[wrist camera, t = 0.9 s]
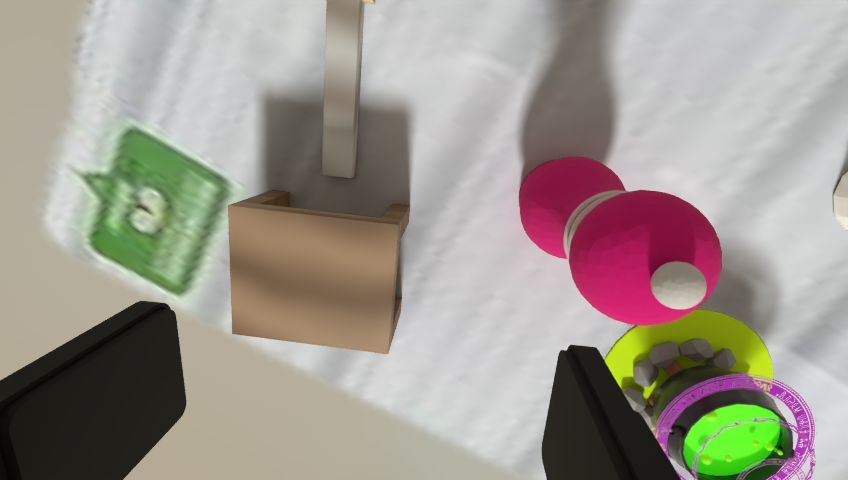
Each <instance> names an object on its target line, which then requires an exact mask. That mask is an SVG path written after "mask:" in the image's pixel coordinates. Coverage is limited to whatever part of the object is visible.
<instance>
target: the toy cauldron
mask: <svg viewBox="0 0 848 480" xmlns="http://www.w3.org/2000/svg"><path fill="white" fill-rule="evenodd" d="M604 361H605V363H606V364H607V366H608V368H609V369H610V371H611V373H612V375H613V376H614V378H615V380H616V381H617V383H618V385H619V386H620V388H621V390H622V391H623V393H624V395H625V397H626V398H627V400H628V402H629V403H630V405H631V407H632V408H633V410H635V411H637V412H639V413H640V414H641V415H642V417H643V418H644V420H645V421H646V423H647V424H648V426H649V428H650V429H651V431H652V433H653V434H654V436H655V438H656V439H657V441H658V443H659V444H660V446H661V447H662V449H663V451H664V452H665V454H666V456H667V457H668V459H669V458H670V459H672V460H674V461H676V462H677V463H678V464H679V465H680V466H682V467H683V468H685V469H686V470H687V471H689V472H690V474H691V475H692V476H693V477H694V478H695V479H696V480H766V479H768V478H769V479H768V480H772V479H774V480H777V477H778V478H780V479H781V480H783V479H784V478H785V477H786V476H788V475H789V474H790V473H791V472H792V471H794V469H795V467H796V466H797V465H798V464H799V462H800V461H801V459H802V457H803V456H802V455H804V454H805V451H806V449H807V446H808V444H809V446H808V450H807V453H806V455H807V454H808V452H809V451H810V452H809V454H812V453H813V452H814V447H813V449H812V446H813V443H812V439H813V442H814V436H815V426H812V425H814V420H813V422H812V420H811V419H813V416H812V413H811V411H810V409H809V407H808V405H807V404H806V402H805V401H804V400H803V398H802V397H801V396H800V395H799V394H798V393H797V392H796V391H794V390H793V389H792V388H790V387H789V386H787V385H785V384H784V385H785V386H787V387H789V388H790V389H792V390H793V391H794V392H795V393H797V394H798V395H799V396H800V397H801V398H802V400H803V401H804V402H805V404H806V405H807V407H808V409H809V411H810V413H811V416H812V418H810V417H811V416H810V414H809V412H808V410H807V408H806V406H805V404H803V403H804V402H802V400H800V399H801V398H800V399H799V397H797V395H795V394H794V392H791V391H792V390H791V391H790V389H787V388H786V387H784V386H783V385H781V384H779V383H776V382H773V381H772V380H774V379H773V370H772V363H771V358H770V356H769V354H768V351H767V349H766V346H765V345H764V344H763V342H762V341H761V340H760V338H759V337H758V336H757V334H756V333H755V332H753V331H752V330H751V329H750V328H749V327H747V326H746V325H745V324H744V323H742V322H740V321H738V320H736V319H734V318H732V317H730V316H728V315H725V314H721V313H718V312H714V311H708V310H697V309H695V310H694V311H693V312H691V313H689V314H688V315H686V316H684V317H682V318H680V319H677V320H675V321H672V322H669V323H664V324H659V325H648V326H639V325H637V326H636V327H634V328H633V329H631V330H629V331H628V332H627V333H626V334H625V335H624V336H623V337H621V338H620V339H619V340H618V341H617V342H616V343H615V345H614V346H613V347H612V349H611V350H610V351H609V353H608V354H607V356H606V358H605V360H604ZM775 381H777V380H775ZM772 382H773V383H776V384H778V385H780V386H782V387H784V388H786V389H787V390H789V391H790V392H791V393H792V394H794V395H795V396H796V397H797V398H798V399H799V400H800V402H801V403H802V404H803V406H804V407H805V409H806V411H807V413H808V416H809V419H810V424H811V440H809V435H810V428H809V422H808V418H807V415H806V413H805V411H804V409H803V407H802V406H801V404H800V403H799V402H798V400H797V399H796V398H795V397H794V396H792V395H791V394H790V393H789V392H787V391H786V390H784V389H782V388H781V387H779V386H777V385H774V384H772ZM777 382H779V381H777ZM780 383H781V382H780ZM782 384H783V383H782ZM784 391H785V392H786V394H784V393H785V392H784ZM783 392H784V393H783ZM782 393H783V394H784V395H785V396H784V395H783V394H782ZM769 394H771V395H773V396H775V397H777V398H778V399H780V398H782V397H783V396H784V397H783V398H782V399H783V400H785V399H786V398H787V399H786V400H785V401H786V402H785V401H783V400H782V399H780V400H781V401H782V402H784V403H785V404H786V405H787V406H788V408H789V409H790V410H791V412H792V413H793V415H794V417H795V419H796V422H797V426H798V430H797V427H795V426H794V425H792V424H790V423H788V422H787V421H786V419H785V418H784V416H783V415H782V414H781V412H780V411H779V409H778V407H777V406H776V404H775V402H774V400H773V399H772V398H771V397H770V396H769ZM776 394H779V395H778V396H779V397H780V396H781V397H780V398H779V397H778V396H776ZM781 394H782V395H783V396H782V395H781ZM773 396H772V397H773ZM789 396H791V397H792V398H791V397H789ZM775 397H774V398H775ZM788 397H789V398H790V399H789V398H788ZM788 399H789V400H788ZM794 399H795V402H794ZM787 400H788V401H787ZM789 401H791V402H792V403H793V402H794V403H793V404H792V403H791V402H789ZM787 402H788V403H787ZM789 403H790V404H789ZM795 403H798V405H797V404H795ZM788 404H789V405H788ZM794 404H795V405H796V406H795V405H794ZM792 405H793V406H795V407H793V409H792V407H791V406H792ZM800 406H801V407H800ZM798 407H800V408H798ZM810 407H811V406H810ZM796 408H798V409H797V410H800V409H802V410H800V411H798V412H797V411H795V410H796ZM794 409H795V410H794ZM794 411H795V412H796V413H795V412H794ZM801 415H803V416H801ZM799 416H800V417H799ZM805 416H806V417H805ZM798 417H799V418H800V419H799V420H797V418H798ZM801 417H803V418H801ZM804 418H806V419H804ZM801 419H803V421H806V422H807V423H805V422H804V423H803V422H800V421H802V420H801ZM815 420H816V419H815ZM799 422H800V423H803V425H802V424H799ZM812 423H813V424H812ZM788 424H790V425H788ZM804 425H806V426H804ZM789 426H791V427H794V428H795V429H796V430H797V431H795V430H793V429H791V428H790V427H789ZM803 427H805V428H803ZM812 427H814V436H812V435H813V434H812V433H813V428H812ZM801 428H802V429H801ZM791 430H793V431H795V432H796V433H798V441H797V445H796V448H795V451H794V450H793V449H792V448H793V436H792V431H791ZM805 430H806V432H807V433H800V432H799V431H805ZM808 431H809V432H808ZM816 436H817V435H816ZM812 437H813V438H812ZM800 439H803V441H804V442H802V443H803V446H802V443H799V442H800ZM804 439H805V440H804ZM806 439H807V440H808V441H806ZM801 441H802V440H801ZM811 443H812V445H811ZM799 444H801V445H799ZM798 446H802V448H801V447H798ZM805 446H806V447H805ZM810 446H811V447H810ZM814 446H815V445H814ZM810 448H811V449H812V450H811V449H810ZM812 451H813V452H812ZM796 452H797V453H796ZM811 452H812V453H811ZM798 453H800V454H798ZM795 454H796V455H795ZM809 454H808V456H809ZM814 454H815V452H814V453H813V454H812V455H810V458H812V457H811V456H813V455H814ZM798 455H799V457H798ZM806 455H805V457H806ZM801 456H802V457H801ZM808 456H807V458H808ZM805 457H804V459H805ZM814 457H815V456H814ZM797 458H799V459H800V461H799V459H797ZM807 458H806V460H807ZM815 458H816V457H815ZM670 459H669V461H670ZM795 459H796V460H795ZM804 459H803V460H802V462H803V461H804V463H805V461H806V460H804ZM808 460H809V459H808ZM812 460H813V458H812V459H811V461H812ZM796 461H797V462H796ZM813 461H814V460H813ZM813 461H812V462H813ZM792 462H796V463H792ZM802 462H801V463H800V465H801V464H802ZM812 462H810V465H811V468H810V471H811V476H812V474H813V471H814V470H813V471H812V467H813V466H815V464H814V463H812ZM814 462H816V461H814ZM791 463H792V464H794V465H795V466H794V465H790V464H791ZM804 463H803V464H804ZM785 464H786V465H785ZM803 464H802V466H803ZM787 465H788V466H789V467H788V466H787ZM800 465H799V466H800ZM672 466H673V465H672ZM782 466H784V467H783V468H782V469H781V470H780V468H781V467H782ZM799 466H797V468H796V470H795V471H794V472H795V474H797V472H800V471H799V469H800V468H801V467H802V466H801V467H800V468H799ZM785 467H788V468H790V467H792V468H793V469H792V468H790V469H788V468H785ZM784 468H785V469H784ZM798 468H799V469H798ZM814 468H815V467H814ZM783 469H784V470H783ZM786 469H787V472H786V473H788V472H790V473H789V474H788V475H787V474H786V473H784V472H785V470H786ZM791 469H792V470H791ZM797 469H798V471H797ZM779 470H780V471H779ZM782 470H783V471H784V472H783V471H782ZM800 470H801V469H800ZM778 471H779V472H778ZM796 471H797V472H796ZM801 471H802V470H801ZM810 471H809V472H808V474H807V476H806V477H805V480H806V479H807V477H808V475H809V473H810ZM676 472H677V471H676ZM777 472H778V473H777ZM794 472H793V473H792V474H794ZM802 472H803V471H802ZM677 474H678V475H679V477H680V478H682V479H683V480H686V479H684V478H683V477H682V476H681V475H680V474H679V473H678V472H677ZM774 474H775V475H774ZM792 474H791V475H792ZM795 474H794V475H795ZM800 474H802V473H801V472H800ZM800 474H799V475H800ZM803 474H804V472H803ZM773 475H774V476H773ZM776 475H777V477H776ZM791 475H790V476H791ZM794 475H793V476H794ZM771 476H772V477H771ZM790 476H788V477H787V478H786V479H788V478H789V477H790ZM793 476H792V477H793ZM797 476H798V474H797ZM804 476H805V474H804ZM811 476H810V477H809V478H808V479H809V480H810V478H811ZM770 477H771V478H770ZM775 477H776V478H775ZM798 478H799V476H798ZM695 479H694V480H695ZM780 479H779V480H780ZM786 479H785V480H786ZM789 479H790V478H789ZM789 479H788V480H789ZM801 479H802V480H803V475H802V478H801ZM808 479H807V480H808ZM799 480H800V479H799Z"/></svg>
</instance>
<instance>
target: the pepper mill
mask: <svg viewBox="0 0 848 480" xmlns="http://www.w3.org/2000/svg"><path fill="white" fill-rule="evenodd" d="M519 206H520V216H521V222H522V225H523V227H524V230H525V231H526V233H527V235H528V236H529V238H530V239H531V240H532V241H533V242H534V243H535V244H536V245H537V246H538V247H539V248H540V249H542V250H543V251H545V252H546V253H548V254H550V255H553V256H556V257H559V258H564V259H568V260H569V264H570V269H571V273H572V278H573V280H574V282H575V284H576V286H577V288H578V290H579V291H580V293H581V294H582V295H583V297H584V298H585V299H586V300H587V301H588V302H589V303H590V304H591V305H592V306H593V307H594V308H596V309H597V310H598V311H600V312H601V313H603V314H605V315H607V316H608V317H610V318H612V319H614V320H617V321H621V322H624V323H627V324H632V325H639V326H648V325H659V324H664V323H669V322H672V321H675V320H677V319H680V318H682V317H684V316H686V315H688V314H689V313H691V312H693V311H694V310H695V309H696V308H698V307H699V306H700V305H701V304H702V303H703V302H704V301H705V300H706V299H707V298H708V297H709V296H710V294H711V293H712V291H713V289H714V287H715V286H716V283H717V281H718V279H719V275H720V271H721V268H722V251H721V247H720V242H719V239H718V237H717V234H716V232H715V230H714V228H713V226H712V225H711V224H710V222H709V221H708V219H707V218H706V217H705V216H704V215H703V214H702V213H701V212H700V211H699V210H698V209H696V208H695V207H694V206H693V205H691V204H690V203H688V202H686V201H684V200H682V199H680V198H678V197H676V196H673V195H670V194H667V193H663V192H658V191H647V190H637V191H632V192H628V191H626V190H625V188H624V186H623V184H622V182H621V180H620V179H619V177H618V176H617V175H616V174H615V173H614V172H613V171H612V170H611V169H609V168H608V167H606V166H605V165H603V164H601V163H599V162H597V161H595V160H592V159H589V158H584V157H567V158H562V159H559V160H552V161H548V162H546V163H543V164H542V165H540V166H538V167H537V168H535V169H534V170H533V171H532V172H531V173H530V174H529V175H528V176H527V178H526V179H525V181H524V183H523V185H522V187H521V190H520V195H519Z"/></svg>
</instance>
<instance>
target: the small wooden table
mask: <svg viewBox="0 0 848 480" xmlns="http://www.w3.org/2000/svg"><path fill="white" fill-rule="evenodd" d="M409 212H410V206H408V205H399V204H392V205H391V206H390V207H389V209H388V210H387V211H386V212H385V213H384V215H383V216H382V217H381V218H378V217H370V216H361V215H352V214H343V213H334V212H326V211H317V210H308V209H299V208H291V207H289V192H283V191H274V190H271V191H268V192H265V193H263V194H260V195H257V196H254V197H251V198H248V199H245V200H242V201H240V202H237V203H234V204H231V205H228V217H229V246H230V276H231V305H232V334H237V335H245V336H252V337H260V338H268V339H275V340H283V341H291V342H299V343H306V344H314V345H322V346H329V347H337V348H345V349H352V350H360V351H368V352H375V353H383V354H388V352H389V349H390V346H391V342H392V339H393V336H394V332H395V329H396V326H397V323H398V319H399V316H400V312H401V301H402V298H397V297H395V291H396V279H397V267H398V255H399V243H400V239H401V237H402V235H403V233H404V231H405V229H406V227H407V225H408V223H409Z"/></svg>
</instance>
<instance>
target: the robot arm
mask: <svg viewBox="0 0 848 480" xmlns="http://www.w3.org/2000/svg"><path fill="white" fill-rule="evenodd" d="M185 408H186V395H185V386H184V378H183V370H182V362H181V354H180V345H179V337H178V329H177V321H176V315H175V312H174V311H173V310H171V309H170V307H169V306H168V305H167V304H166V303H158V302H148V301H139V302H137V303H135V304H133V305H131V306H130V307H128V308H126V309H124V310H123V311H121V312H119V313H118V314H116V315H114V316H112V317H110V318H109V319H107V320H105V321H103V322H102V323H100V324H98V325H96V326H95V327H93V328H92V329H89V330H88V331H86V332H84V333H82V334H81V335H79V336H77V337H76V338H74V339H72V340H70V341H69V342H67V343H65V344H63V345H62V346H60V347H58V348H56V349H55V350H53V351H51V352H49V353H48V354H46V355H44V356H42V357H41V358H39V359H37V360H35V361H34V362H32V363H30V364H28V365H27V366H25V367H23V368H21V369H20V370H18V371H16V372H14V373H13V374H11V375H9V376H7V377H6V378H4V379H2V380H0V480H123V479H124V478H125V477H126V476H127V475H128V474H129V473H130V472H131V470H132V469H133V468H134V467H135V466H136V465H137V464H138V463H139V462H140V461H141V460H142V459H143V458H144V456H145V455H146V454H147V453H148V452H149V451H150V450H151V449H152V448H153V447H154V446H155V445H156V444H157V442H158V441H159V440H160V439H161V438H162V437H163V436H164V435H165V434H166V433H167V432H168V431H169V430H170V429H171V427H172V426H173V425H174V424H175V423H176V422H177V421H178V420H179V419H180V418H181V416H182V415H183V413H184V410H185ZM542 460H543V465H544V469H545V473H546V477H547V480H681V479H680V477H679V475H678V474H677V472H676V470H675V469H674V467H673V466H672V464H671V462H670V461H669V459H668V457H667V456H666V454H665V452H664V451H663V449H662V447H661V446H660V444H659V443H658V441H657V439H656V438H655V436H654V434H653V433H652V431H651V429H650V428H649V426H648V424H647V423H646V421H645V420H644V418H643V417H642V415H641V414H640V413H639V412H637V411H635V410H633V408H632V407H631V405H630V403H629V402H628V400H627V398H626V397H625V395H624V393H623V391H622V390H621V388H620V386H619V385H618V383H617V381H616V380H615V378H614V376H613V375H612V373H611V371H610V369H609V368H608V366H607V364H606V363H605V361H604V359H603V358H602V356H601V354H600V353H599V351H598V349H597V348H595V347H587V346H577V345H570V346H569V347H568V349H567V351H564V350H561V351H560V353H559V356H558V361H557V367H556V372H555V377H554V383H553V388H552V394H551V399H550V404H549V410H548V415H547V420H546V426H545V431H544V437H543V442H542Z"/></svg>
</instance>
